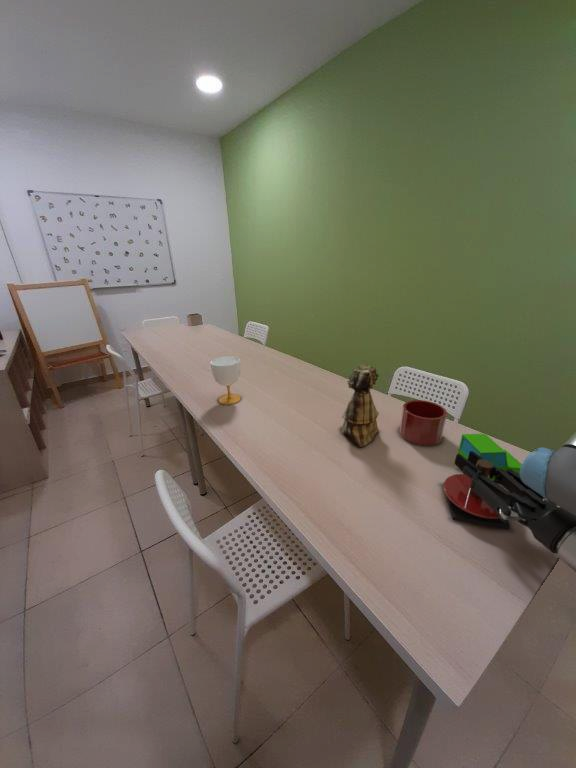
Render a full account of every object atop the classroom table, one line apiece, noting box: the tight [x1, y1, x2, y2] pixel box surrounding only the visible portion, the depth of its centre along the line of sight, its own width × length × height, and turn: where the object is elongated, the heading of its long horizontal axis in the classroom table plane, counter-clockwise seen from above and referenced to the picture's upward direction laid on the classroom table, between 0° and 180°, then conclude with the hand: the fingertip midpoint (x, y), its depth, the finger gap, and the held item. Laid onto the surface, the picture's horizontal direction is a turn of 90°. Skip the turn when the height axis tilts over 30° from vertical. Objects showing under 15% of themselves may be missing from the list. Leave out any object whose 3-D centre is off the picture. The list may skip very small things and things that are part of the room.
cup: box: [209, 356, 241, 405], centre depth 122 cm, size 12×12×17 cm
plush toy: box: [340, 364, 380, 448], centre depth 95 cm, size 14×14×25 cm
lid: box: [443, 459, 499, 519], centre depth 67 cm, size 13×13×10 cm
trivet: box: [442, 482, 511, 530], centre depth 70 cm, size 11×11×1 cm
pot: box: [399, 399, 448, 447], centre depth 96 cm, size 13×13×10 cm
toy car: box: [457, 433, 523, 482], centre depth 78 cm, size 10×13×10 cm
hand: (463, 457), depth 71 cm, fingers closed on lid, 3 cm apart
